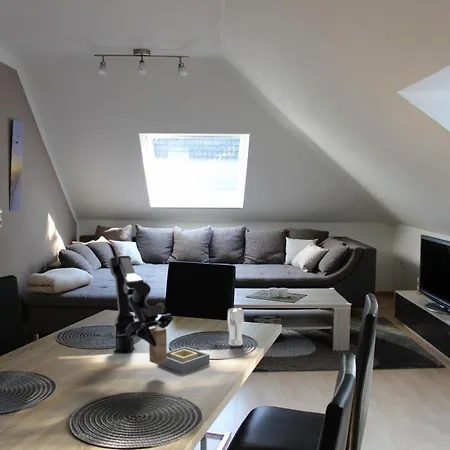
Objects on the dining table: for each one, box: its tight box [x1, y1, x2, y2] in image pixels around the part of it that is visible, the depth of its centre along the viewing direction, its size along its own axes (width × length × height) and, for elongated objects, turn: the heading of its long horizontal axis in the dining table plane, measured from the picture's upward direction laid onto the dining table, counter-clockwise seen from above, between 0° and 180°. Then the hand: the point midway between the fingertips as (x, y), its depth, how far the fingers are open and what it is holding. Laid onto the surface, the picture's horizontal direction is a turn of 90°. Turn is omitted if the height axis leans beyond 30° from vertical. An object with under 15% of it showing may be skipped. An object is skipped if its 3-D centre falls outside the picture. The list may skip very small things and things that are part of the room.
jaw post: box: [148, 326, 168, 365], centre depth 197 cm, size 4×4×12 cm
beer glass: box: [227, 307, 245, 347], centre depth 234 cm, size 7×7×15 cm
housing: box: [159, 346, 211, 374], centre depth 211 cm, size 14×14×4 cm
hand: (160, 344), depth 196 cm, fingers closed on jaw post, 4 cm apart
